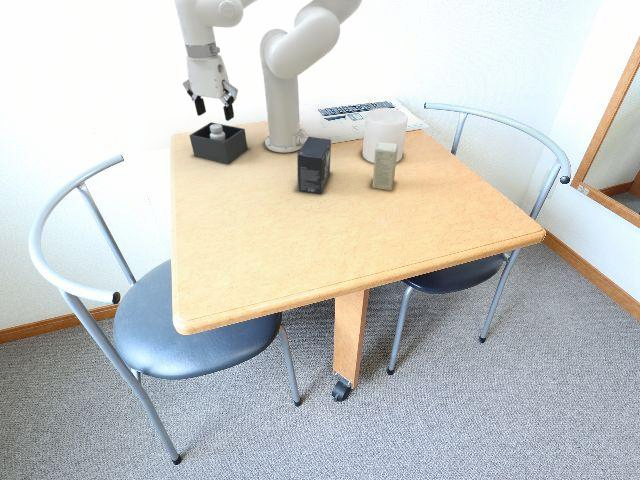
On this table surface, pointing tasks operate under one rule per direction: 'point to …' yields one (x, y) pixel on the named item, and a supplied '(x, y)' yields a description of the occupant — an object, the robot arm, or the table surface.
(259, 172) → the table surface
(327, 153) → the box
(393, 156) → the box
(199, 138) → the bin
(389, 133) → the cup
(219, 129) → the pill bottle
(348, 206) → the table surface
